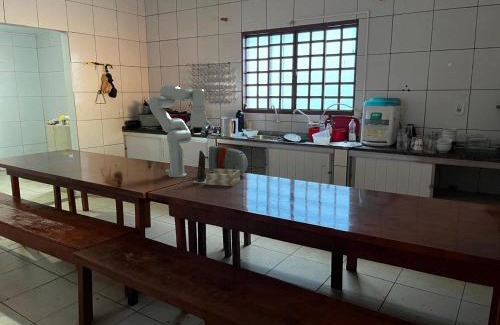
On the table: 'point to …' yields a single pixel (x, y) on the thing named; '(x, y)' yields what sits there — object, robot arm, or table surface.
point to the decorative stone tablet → (226, 159)
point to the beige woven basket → (223, 177)
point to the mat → (199, 182)
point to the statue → (201, 167)
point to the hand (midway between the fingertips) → (199, 136)
